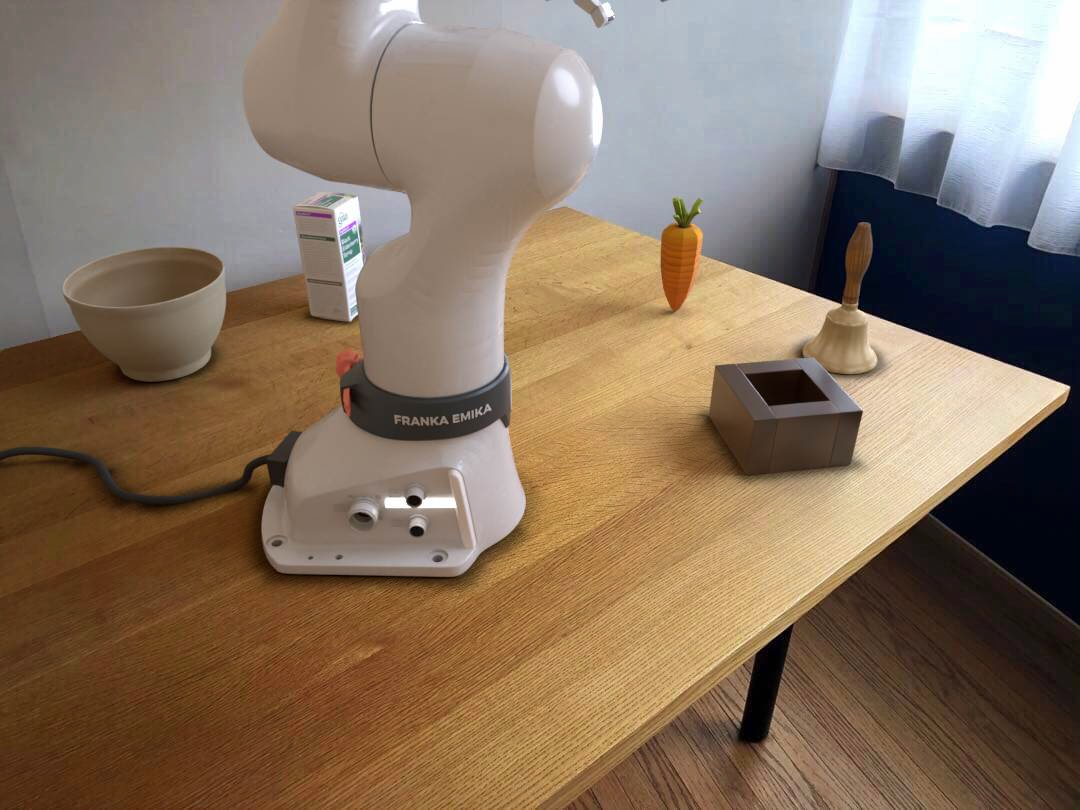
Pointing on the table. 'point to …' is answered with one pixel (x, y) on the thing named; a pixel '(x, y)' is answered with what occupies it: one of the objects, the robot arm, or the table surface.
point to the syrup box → (330, 253)
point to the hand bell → (847, 317)
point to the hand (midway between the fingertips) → (639, 10)
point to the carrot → (680, 254)
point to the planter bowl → (151, 309)
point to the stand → (783, 415)
